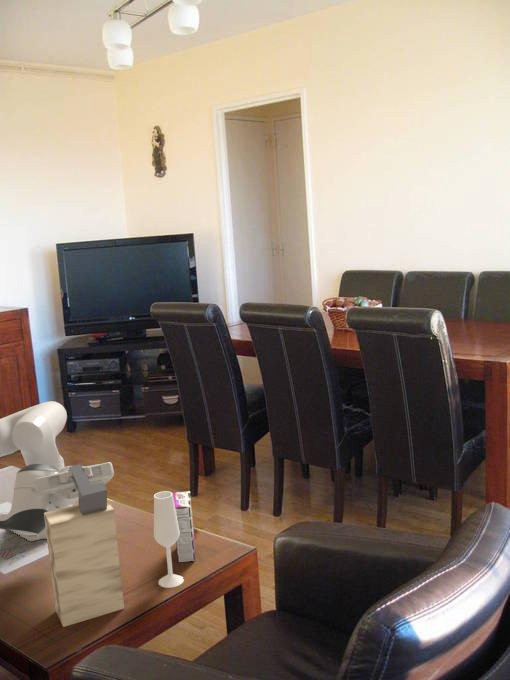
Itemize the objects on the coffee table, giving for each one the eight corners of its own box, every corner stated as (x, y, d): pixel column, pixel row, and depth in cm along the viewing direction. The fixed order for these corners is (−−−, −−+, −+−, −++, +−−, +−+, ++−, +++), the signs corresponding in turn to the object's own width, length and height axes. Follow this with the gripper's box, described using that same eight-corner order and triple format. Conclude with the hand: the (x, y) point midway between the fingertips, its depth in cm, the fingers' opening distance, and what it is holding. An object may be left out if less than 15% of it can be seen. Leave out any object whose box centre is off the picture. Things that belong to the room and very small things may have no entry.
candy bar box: (177, 545, 214) (173, 491, 211) (195, 543, 214) (190, 490, 211) (177, 563, 203) (172, 507, 200) (195, 562, 203) (190, 506, 200)
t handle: (63, 474, 187) (63, 455, 184) (86, 468, 190) (86, 450, 187) (82, 515, 175) (82, 495, 172) (106, 508, 178) (107, 489, 175)
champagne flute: (174, 589, 190) (166, 501, 185) (153, 584, 193) (144, 498, 188) (188, 577, 195) (181, 491, 191) (168, 572, 199) (160, 488, 194)
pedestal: (55, 611, 183) (43, 508, 178) (115, 594, 189) (104, 493, 184) (63, 627, 176) (50, 520, 171) (124, 608, 182) (113, 504, 177)
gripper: (27, 480, 193) (33, 469, 182) (104, 463, 202) (114, 451, 191) (32, 504, 192) (38, 494, 180) (109, 486, 201) (120, 475, 189)
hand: (78, 472), depth 185 cm, fingers closed on t handle, 3 cm apart
